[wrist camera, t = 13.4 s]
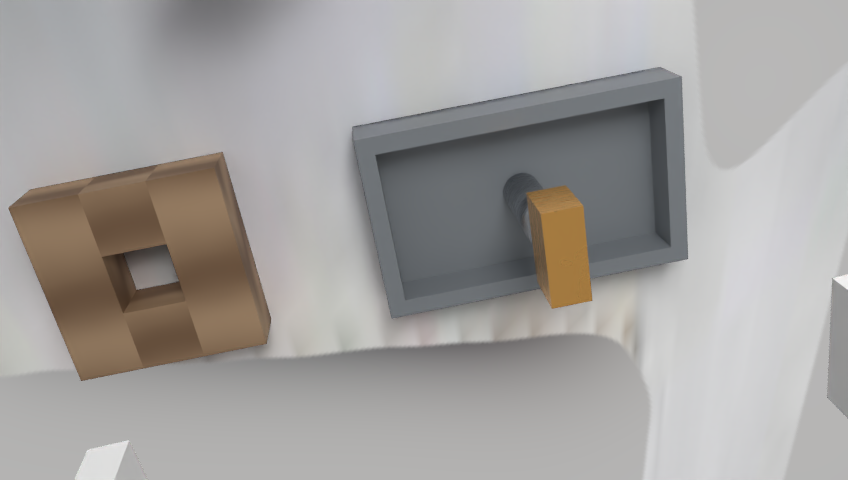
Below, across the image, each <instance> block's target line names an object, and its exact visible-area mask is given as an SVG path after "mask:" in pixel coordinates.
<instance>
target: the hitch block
mask: <svg viewBox="0 0 848 480" xmlns="http://www.w3.org/2000/svg"><path fill="white" fill-rule="evenodd" d="M8 209H9V211H10V213H11V216H12V218H13V220H14V223H15V225H16V227H17V230H18V232H19V235H20V237H21V239H22V242H23V244H24V246H25V249H26V251H27V254H28V256H29V258H30V261H31V263H32V265H33V268H34V270H35V273H36V275H37V277H38V280H39V282H40V284H41V287H42V289H43V291H44V294H45V296H46V299H47V301H48V303H49V306H50V308H51V310H52V313H53V315H54V318H55V320H56V322H57V325H58V327H59V329H60V332H61V334H62V336H63V339H64V341H65V344H66V346H67V348H68V351H69V353H70V355H71V358H72V360H73V363H74V365H75V367H76V370H77V372H78V374H79V377H80V379H81V381H83V380H88V379H93V378H98V377H103V376H108V375H113V374H118V373H123V372H128V371H133V370H138V369H143V368H148V367H153V366H158V365H163V364H168V363H173V362H178V361H183V360H188V359H193V358H198V357H203V356H208V355H213V354H218V353H223V352H228V351H233V350H238V349H243V348H248V347H253V346H258V345H263V344H267V339H268V333H269V328H270V323H271V317H270V314H269V310H268V307H267V303H266V300H265V296H264V293H263V290H262V286H261V283H260V279H259V276H258V272H257V269H256V265H255V262H254V259H253V255H252V252H251V248H250V245H249V241H248V238H247V234H246V231H245V228H244V224H243V221H242V217H241V214H240V210H239V207H238V203H237V200H236V197H235V193H234V190H233V186H232V183H231V179H230V176H229V172H228V169H227V166H226V162H225V159H224V155H223V152H221V153H216V154H211V155H206V156H200V157H195V158H190V159H185V160H180V161H175V162H170V163H164V164H159V165H154V166H149V167H144V168H139V169H134V170H128V171H123V172H118V173H113V174H108V175H103V176H98V177H92V178H87V179H82V180H77V181H72V182H67V183H62V184H56V185H51V186H46V187H41V188H36V189H31V190H29V191H28V192H27V193H25V194H24V195H23V196H22V197H21V198H20V199H18V200H17V201H16V202H15V203H14V204H12V205H11V206H10V207H9V208H8ZM165 244H167V247H168V250H169V253H170V256H171V259H172V262H173V265H174V268H175V271H176V273H177V276H178V279H179V282H176V283H171V284H166V285H161V286H156V287H150V288H145V289H140V290H136V287H135V285H134V282H133V279H132V276H131V274H130V271H129V268H128V266H127V263H126V260H125V257H124V255H123V253H124V252H129V251H135V250H140V249H145V248H150V247H155V246H160V245H165Z"/></svg>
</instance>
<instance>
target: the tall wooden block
mask: <svg viewBox="0 0 848 480" xmlns="http://www.w3.org/2000/svg"><path fill="white" fill-rule="evenodd" d="M503 195H504V198H505V200H506V202H507V204H508V205H509V207H510V209H511V210H512V212H513V214H514V216H515V217H516V219H517V221H518V222H519V224H520V226H521V227H522V229H523V231H524V232H525V234H526V236H527V238H528V239H529V241H530V243H531V244H532V246H533V251H534V259H535V267H536V275H537V282H538V284H539V286H540V288H541V290H542V291H543V293H544V295H545V297H546V299H547V301H548V302H549V304H550V306H551V308H552V309H553V308H558V307H563V306H568V305H573V304H578V303H583V302H588V301H592V293H591V283H590V272H589V261H588V250H587V240H586V229H585V218H584V207H583V205H582V204H581V202H580V201H579V200H578V199H577V198H576V197H575V195H574V194H573V193H572V192H571V191H570V190H569V188H568V187H567V186H566V185H564V186H559V187H554V188H549V189H543V187H542V186H541V185H540V183H539V182H538V181H537V179H536V178H535V177H534V176H532V175H531V174H528V173H518V174H515V175H513V176H511V177H510V178H509V179H508V180H507V181H506V183H505V185H504V188H503Z"/></svg>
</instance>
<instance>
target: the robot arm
mask: <svg viewBox="0 0 848 480" xmlns="http://www.w3.org/2000/svg"><path fill="white" fill-rule="evenodd" d="M829 345H830V346H829V367H828V391H827V392H828V393H827V398H828V399H829V400H830V401H831V402H832V403H833V404H834V405H835V406H836V407H837V408H838V409H839V410H840V411H841V412H842V413H843V414H844V415H845V416H846V417H847V418H848V274H847V275H843V276H839V277H834V278H832V296H831V322H830V344H829ZM74 480H148V479H147V476H146V474H145V472H144V470H143V468H142V466H141V464H140V462H139V460H138V458H137V455H136V453H135V451H134V449H133V447H132V445H131V443H130V441H129V440H127V441H123V442H119V443H115V444H110V445H106V446H101V447H97V448H93V449H88V450H87V452H86V455H85V457H84V459H83V461H82V464H81V466H80V468H79V470H78V472H77V475H76V477H75V479H74Z"/></svg>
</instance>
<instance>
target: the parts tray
mask: <svg viewBox="0 0 848 480" xmlns="http://www.w3.org/2000/svg"><path fill="white" fill-rule="evenodd" d="M353 142H354V147H355V151H356V156H357V161H358V165H359V170H360V174H361V179H362V184H363V188H364V193H365V198H366V202H367V207H368V211H369V216H370V221H371V225H372V230H373V234H374V239H375V244H376V248H377V253H378V257H379V262H380V267H381V271H382V276H383V281H384V285H385V290H386V294H387V299H388V304H389V308H390V313H391V317H392V318H397V317H402V316H407V315H412V314H417V313H422V312H427V311H432V310H437V309H442V308H447V307H452V306H457V305H462V304H467V303H472V302H477V301H482V300H487V299H492V298H497V297H501V296H506V295H511V294H516V293H521V292H526V291H531V290H536V289H541V288H540V286H539V284H538V282H537V275H536V267H535V259H534V251H533V246H532V244H531V243H530V241H529V239H528V238H527V236H526V234H525V232H524V231H523V229H522V227H521V226H520V224H519V222H518V221H517V219H516V217H515V216H514V214H513V212H512V210H511V209H510V207H509V205H508V204H507V202H506V200H505V198H504V195H503V188H504V185H505V183H506V181H507V180H508V179H509V178H510V177H511V176H513V175H515V174H518V173H528V174H531V175H532V176H534V177H535V178H536V179H537V181H538V182H539V183H540V185H541V186H542V187H543V189H549V188H554V187H559V186H564V185H566V186H567V187H568V188H569V190H570V191H571V192H572V193H573V194H574V195H575V197H576V198H577V199H578V200H579V201H580V202H581V204H582V205H583V207H584V218H585V229H586V240H587V250H588V261H589V272H590V279H591V278H596V277H601V276H606V275H611V274H616V273H621V272H626V271H631V270H636V269H641V268H646V267H651V266H656V265H661V264H666V263H671V262H676V261H681V260H686V259H688V243H687V214H686V186H685V157H684V129H683V100H682V77H681V76H679V75H677V74H675V73H672V72H670V71H668V70H666V69H663V68H661V67H658V68H653V69H648V70H642V71H637V72H632V73H627V74H622V75H617V76H612V77H606V78H601V79H596V80H591V81H586V82H581V83H576V84H570V85H565V86H560V87H555V88H550V89H545V90H540V91H534V92H529V93H524V94H519V95H514V96H509V97H504V98H498V99H493V100H488V101H483V102H478V103H473V104H468V105H462V106H457V107H452V108H447V109H442V110H437V111H432V112H427V113H421V114H416V115H411V116H406V117H401V118H396V119H391V120H385V121H380V122H375V123H370V124H365V125H360V126H355V127H353Z"/></svg>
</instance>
